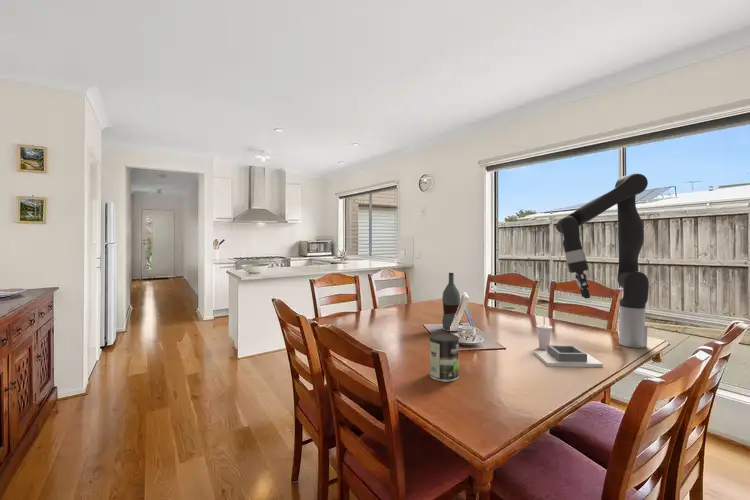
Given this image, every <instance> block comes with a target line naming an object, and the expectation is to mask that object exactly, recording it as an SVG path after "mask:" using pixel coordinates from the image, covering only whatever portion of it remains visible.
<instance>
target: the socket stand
mask: <svg viewBox="0 0 750 500" xmlns="http://www.w3.org/2000/svg"><path fill="white" fill-rule="evenodd" d="M533 354H534V356H536V357H537V358H538V359H539V360H540V361H542V363H544V364H545V365H546V366H547V367H578V368H579V367H580V368H583V367H584V368H585V367H586V368H588V367H591V368H603V367H604V363H602V362H601V361H599V360H598V359H596V358H595V357H593V356H591V355H590V354H588V353H586V352H585V351H584V350H582V349H580V348H578V347H577V346H576V345H571V344H569V345H567V344H566V345H565V344H563V345H559V344H549V345H547V350H533Z"/></svg>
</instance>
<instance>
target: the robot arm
mask: <svg viewBox="0 0 750 500" xmlns="http://www.w3.org/2000/svg"><path fill="white" fill-rule="evenodd" d="M648 183H649V180H648V178H647V177H646V175H644V174H642V173H630V174H627V175H624V176H620V177H619V178H618V179H617V180H616V182H615V185H614V188H613V189H612V190H610V191H607V192H606V193H603V194H601V195H600V196H598V197H596V198H594V199H591V200H589V201H588V202H586V203H584V204H583V205H581V206H580V207H578V208H577V209H575V211H573V212H571V213H570V214H568V215H566V216H564V217H563V218H561V219H559V220H558V221H557V223H556V230H557V232H559V233H560V234H562V235H563V241H562V248H563V250H564V254H565V260H566V264H567V268H568V272H569V273H570V274H573V273H574V274H575V273H576V274H575V276H574V278H575V281H576V284H577V287H578V289H579V291H580V294H581V297H582V298H584V299H590V298H591V295H590V291H589V288H590V286H589V282H588V278H587V277H588V276H587V275H586V274H585V273H584V272H585V271H588V270H590V269H589V265H588V262H587V257H586V253H585V252H584V249H583V246H582V242H581V238H580V237H581V234H580V226H582V225H583V224H586V223H587V222H590V221H591V220H593V219H594V218H596V217H598V216H600V215H601V214H602V213H604V212H605V211H607V210H609V209H611V208H612V207H614V206H616V205H617V243H618V267H617V283H618V285H619V286H620V287H621V288H622V289H623V294H622V295H623V296H622V298H620V300H619V315H618V316H619V317H618V319H619V323H618V325H619V326H618V327H619V328H618V344H619V345H620V346H624V347H627V348H635V349H643V348H648V325H647V324H646V304H647V302H648V301H649V290H650V289H649V288H650V286H649V285H650V283H649V278H648V276H647V275H646V274H645V273H644V272H642V271H639V255H640V253H641V250H642V248H643V244H644V241H645V240H644V239H645V238H644V237H645V234H644V233H645V231H644V230H645V229H644V223H643V219H642V218H641V216H640V214H639V212H638V209H637V204H636V195H640V194H641V193H643V192H644V191H646V189H647V187H648V186H649V185H648Z"/></svg>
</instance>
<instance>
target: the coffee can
mask: <svg viewBox="0 0 750 500" xmlns="http://www.w3.org/2000/svg"><path fill="white" fill-rule="evenodd" d="M428 338H429V377H430V378H431V379H432V380H435V381H439V382H443V383H444V382H447V383H449V382H455V381H457V380H458V379H459V378H460V376H459V371H460V369H459V367H460V366H459V363H460V361H459V359H460V358H459V353H460V352H459V349H460V348H459V345H460V344H459V343H460V342H459V341H460V337H459V336H458V335H456V334H453V333H450V332H448V333H446V332H435V333H432V334H430V335H429V336H428Z"/></svg>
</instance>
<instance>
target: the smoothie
mask: <svg viewBox="0 0 750 500" xmlns="http://www.w3.org/2000/svg"><path fill="white" fill-rule="evenodd" d="M535 328H536V331H537V339H538V346H539V347H538V348H539V349H540V350H542V351H547V345H551V344H550V342H551V338H552V337H551V336H552V331H553V326H551V325H548V324H546V315H543V324H537V325H536V326H535Z"/></svg>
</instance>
